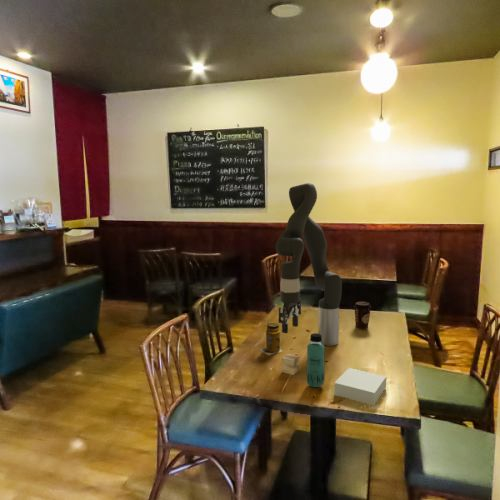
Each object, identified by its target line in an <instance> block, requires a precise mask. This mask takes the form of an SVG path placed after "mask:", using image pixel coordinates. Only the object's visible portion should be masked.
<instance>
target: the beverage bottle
mask: <svg viewBox="0 0 500 500" xmlns="http://www.w3.org/2000/svg"><path fill="white" fill-rule="evenodd" d="M309 339H310V340H309V341H310V343H308V344H307V345H306V348H307V349H306V351H307V352H306V353H307V354H306V383H307V385H308V386H310V387H314V388H315V387H316V388H318V387H321V386H323V385H324V383H325V368H326V367H325V349H326V347H325V345H323V344H322V343H320V342H321V341H322V336H321V334H319V332H318V333H317V332H314V333H311V334H310V338H309Z"/></svg>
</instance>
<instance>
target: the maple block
mask: <svg viewBox="0 0 500 500" xmlns="http://www.w3.org/2000/svg"><path fill="white" fill-rule="evenodd" d="M298 372H300V355H296V354H292V353H291V354H290V353H286V354H285V355H284V356H283V357H281V373H283V374H287V375H291V376H295V374H297V373H298Z"/></svg>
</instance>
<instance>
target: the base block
mask: <svg viewBox="0 0 500 500" xmlns="http://www.w3.org/2000/svg"><path fill="white" fill-rule="evenodd" d="M385 388H386V389H387V376H386V375H381V374H378V373H373V372H368V371H363V370H359V369H355V368H351V367H347V369H346V370H345V371H344V372H343V373H342V374H341V375H340V376H339V378H337V380H335V381H334V396H336V397H340V396H341V397H340V398H343V397H345V398H344V399H347V398H349V399H348V400H351V399H353V400H352V401H354V400H356V401H355V402H358V401H360V402H359V403H362V402H363V403H362V404H365V403H367V405H369V404H371V405H370V406H373V405H374V406H376V404H377V403H376V402H378V401H379V400H380V398H381V397H382V395H383V394H384V392H385V391H386V389H385ZM384 390H385V391H384ZM383 391H384V392H383ZM382 393H383V394H382ZM381 394H382V395H381ZM380 396H381V397H380ZM379 397H380V398H379ZM378 399H379V400H378ZM377 400H378V401H377ZM375 403H376V404H375Z"/></svg>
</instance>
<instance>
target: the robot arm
mask: <svg viewBox="0 0 500 500" xmlns="http://www.w3.org/2000/svg"><path fill="white" fill-rule="evenodd" d="M288 198H289V201H290V205H291V207H292V209H293V213H292V214H291V215H290V217H289V218H288V221H287V223H286V228H285V230H284V231H283V232H282V233H281V235H280V236H279V238H278V239H277V241H276V243H275V251H276V253H277V254H278V255H279V256H281V257H282V256H283V257H293V259H292V260H290V261H285V262H282V263H281V266H280V287H279V288H280V290H279V291H280V298H279V299H280V301H281V302H282V303H283V306H282V307H279V308H278V324H281V333H283V334H288V333H289V321H290V320H291V319H292V327H295V328H297V327H298V326H299V317H300V316H301V315H302V300H301V282H300V266H301V261H302V257H303V253H304V250H305V248H306V251H307V254H308V256H309V260H310V264H311V268H312V272H313V278H314V281H315V285H316V288H317V289H319V290H320V291H322V292H323V293H324V296H323V298H320V299H319V300H318V334H321V336H322V341H321V342H320V343H322V344H323V345H324V346H327V347H328V346H331V347H332V346H337V345H338V344H339V334H340V333H339V331H340V303H341V300H342V289H343V281H342V278H341V276H340V275H339V274H337V273H335V272H331V271H330V270H329V267H328V264H327V261H326V257H327V256H326V255H327V250H328V249H327V248H328V243H327V239H326V236H325V233H324V230H323V228H322V227H321V226H320V225H319V224H318V223H317V222H315V221H314V220H313V219H312V218H311V217H310V215H311V213H312V210H313V208H314V207H315V204H316V203H317V199H318V192H317V189H316V187H315V185H314V183H312V182H307V183H302V184H298V185H295V186H292V187H290V188H289V190H288ZM302 238H303V239H302ZM291 317H292V318H291Z"/></svg>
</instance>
